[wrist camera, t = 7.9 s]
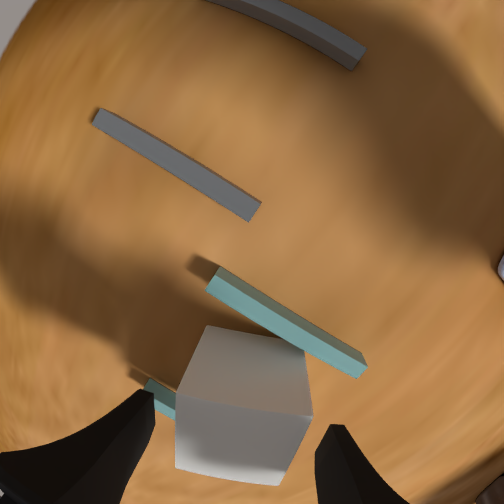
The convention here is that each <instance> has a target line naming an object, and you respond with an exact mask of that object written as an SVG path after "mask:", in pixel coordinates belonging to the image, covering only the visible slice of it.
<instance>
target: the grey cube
mask: <svg viewBox="0 0 504 504" xmlns="http://www.w3.org/2000/svg"><path fill="white" fill-rule="evenodd" d="M312 418H313V409H312V402H311V395H310V388H309V381H308V374H307V367H306V361H305V354H304V350H302V349H300V348H299V347H297V346H295V345H293V344H292V343H290V342H288V341H286V340H285V339H280V338H274V337H268V336H262V335H256V334H251V333H245V332H240V331H235V330H230V329H225V328H220V327H215V326H210V325H207V326H206V328H205V330H204V332H203V334H202V336H201V339H200V341H199V343H198V345H197V347H196V349H195V352H194V354H193V356H192V358H191V360H190V362H189V365H188V367H187V369H186V371H185V373H184V376H183V378H182V380H181V382H180V384H179V387H178V389H177V391H176V403H175V468H178V469H182V470H185V471H189V472H194V473H198V474H202V475H207V476H212V477H217V478H222V479H228V480H234V481H240V482H247V483H255V484H264V485H275V486H278V485H279V484H280V482H281V480H282V478H283V476H284V475H285V473H286V471H287V469H288V467H289V465H290V463H291V462H292V460H293V458H294V456H295V454H296V452H297V450H298V448H299V446H300V444H301V442H302V440H303V438H304V436H305V433H306V431H307V429H308V427H309V425H310V423H311V421H312Z"/></svg>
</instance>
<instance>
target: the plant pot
mask: <svg viewBox="0 0 504 504" xmlns="http://www.w3.org/2000/svg"><path fill="white" fill-rule="evenodd" d="M476 504H504V476H500V477H499V478H498V479H496V480H495V481H494V482H493V483H492V484H491V485H490V486H488V487H487V488H486V489H485V490H484V491H483V492H482V493H481V494H480V495H479V497H478V498H477V499H476Z"/></svg>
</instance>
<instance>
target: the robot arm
mask: <svg viewBox="0 0 504 504" xmlns="http://www.w3.org/2000/svg"><path fill="white" fill-rule="evenodd" d="M498 274H499V275H500V277H501V278H502V280H503V281H504V256H503V258H502V259H501V261H500V263H499V266H498ZM154 426H155V408H154V393H152V392H149V391H146V390H143V389H139V390H137V391H136V392H135V393H134V394H132V395H131V396H130V397H129V398H127V399H126V400H125V401H124V402H122V403H121V404H120V405H119V406H117V407H116V408H115V409H113V410H112V411H110V412H109V413H108V414H106V415H105V416H103V417H102V418H100V419H99V420H97V421H96V422H94V423H92V424H91V425H89V426H87V427H86V428H84V429H82V430H80V431H78V432H76V433H74V434H72V435H70V436H68V437H65V438H63V439H60V440H57V441H55V442H52V443H49V444H46V445H42V446H38V447H34V448H30V449H25V450H18V451H10V452H1V453H0V489H1V490H2V492H4V494H3V496H2V497H1V496H0V504H120V501H121V498H122V495H123V493H124V490H125V487H126V485H127V483H128V481H129V479H130V477H131V475H132V473H133V471H134V469H135V468H136V466H137V464H138V462H139V460H140V458H141V456H142V454H143V453H144V451H145V449H146V447H147V445H148V443H149V440H150V438H151V435H152V432H153V429H154ZM315 480H316V488H317V496H318V504H409V503H408V502H407V501H406V500H404V499H403V498H402V497H401V496H399V495H398V494H397V493H396V492H395V491H394V490H393V489H392V488H391V487H390V486H389V485H388V484H387V483H386V482H385V481H384V480H383V479H382V478H381V476H380V475H379V474H378V473H377V472H376V470H375V469H374V468H373V467H372V465H371V464H370V463H369V461H368V460H367V458H366V457H365V456H364V454H363V453H362V451H361V450H360V448H359V447H358V445H357V444H356V442H355V441H354V439H353V438H352V436H351V435H350V433H349V432H348V430H347V429H346V427H345V426H344V425H338V424H330V426H329V427H328V429H327V431H326V433H325V435H324V437H323V439H322V440H321V442H320V444H319V446H318V448H317V449H316V451H315Z"/></svg>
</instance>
